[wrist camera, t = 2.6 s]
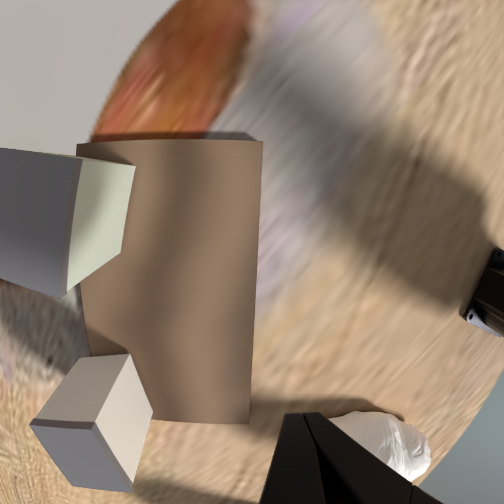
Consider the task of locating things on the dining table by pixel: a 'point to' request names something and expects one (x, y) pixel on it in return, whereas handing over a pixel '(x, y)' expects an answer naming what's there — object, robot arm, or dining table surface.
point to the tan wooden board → (183, 275)
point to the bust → (388, 441)
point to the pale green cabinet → (59, 217)
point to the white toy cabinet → (96, 423)
